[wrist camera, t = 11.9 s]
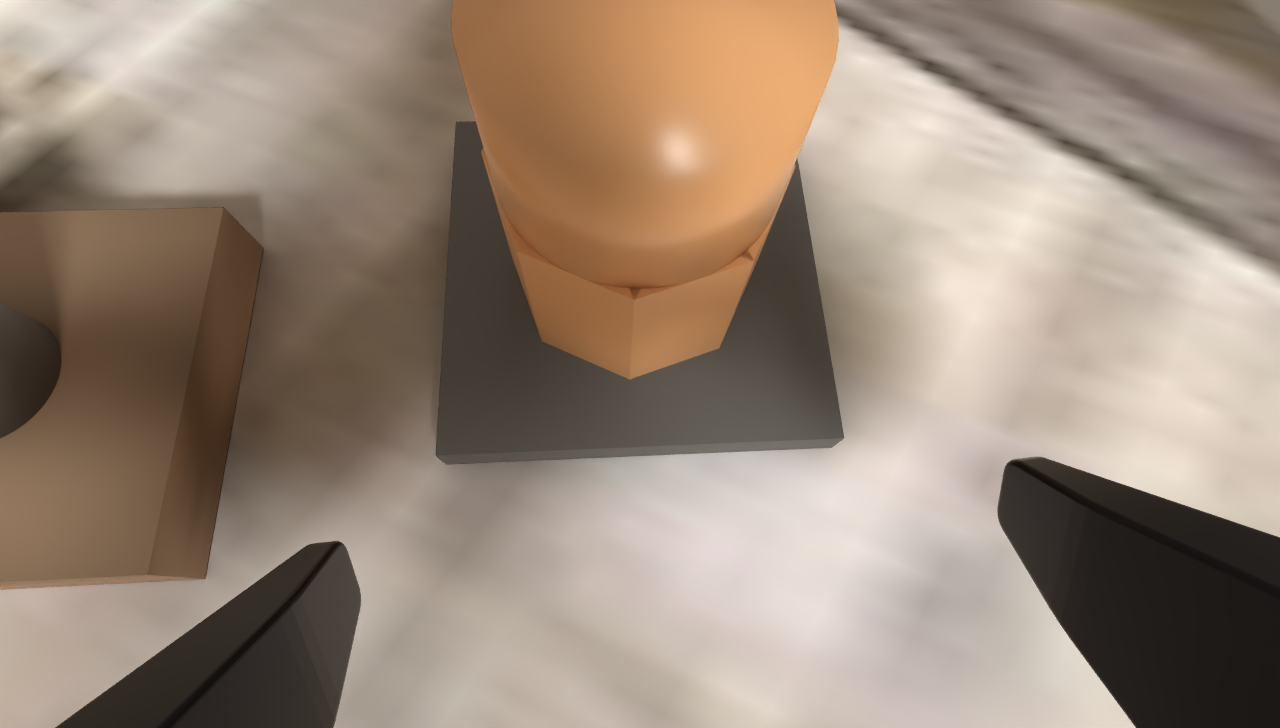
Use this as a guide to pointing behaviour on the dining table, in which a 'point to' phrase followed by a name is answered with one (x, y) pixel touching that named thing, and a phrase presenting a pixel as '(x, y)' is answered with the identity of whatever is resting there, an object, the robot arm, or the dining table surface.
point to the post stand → (117, 389)
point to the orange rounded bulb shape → (640, 157)
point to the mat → (604, 401)
